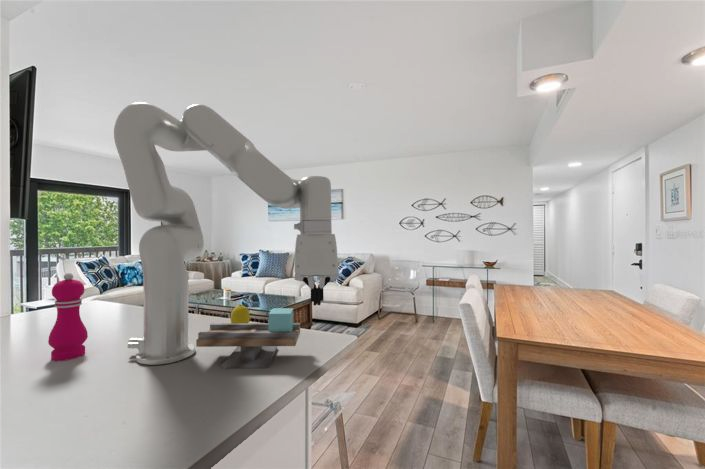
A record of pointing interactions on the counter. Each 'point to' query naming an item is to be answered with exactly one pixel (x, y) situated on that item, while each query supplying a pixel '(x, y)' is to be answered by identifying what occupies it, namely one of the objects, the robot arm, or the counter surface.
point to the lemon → (240, 315)
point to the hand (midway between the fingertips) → (317, 304)
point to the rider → (281, 320)
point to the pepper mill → (68, 320)
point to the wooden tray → (247, 342)
